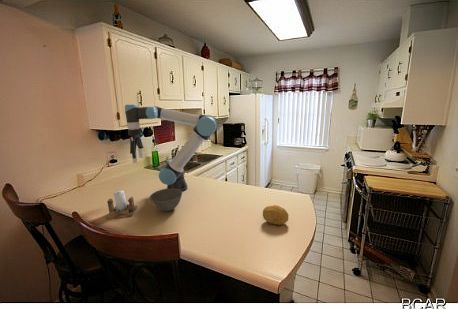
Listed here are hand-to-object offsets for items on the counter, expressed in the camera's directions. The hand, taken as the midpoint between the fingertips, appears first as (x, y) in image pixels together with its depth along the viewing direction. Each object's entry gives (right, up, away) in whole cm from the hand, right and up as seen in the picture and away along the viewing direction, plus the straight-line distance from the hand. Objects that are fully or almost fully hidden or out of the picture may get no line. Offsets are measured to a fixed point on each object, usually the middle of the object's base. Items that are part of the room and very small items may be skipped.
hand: (138, 160), depth 145 cm
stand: (-4, -31, -15) cm, 35 cm away
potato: (+85, -32, -32) cm, 96 cm away
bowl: (+23, -30, -13) cm, 40 cm away
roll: (-4, -30, -15) cm, 34 cm away
